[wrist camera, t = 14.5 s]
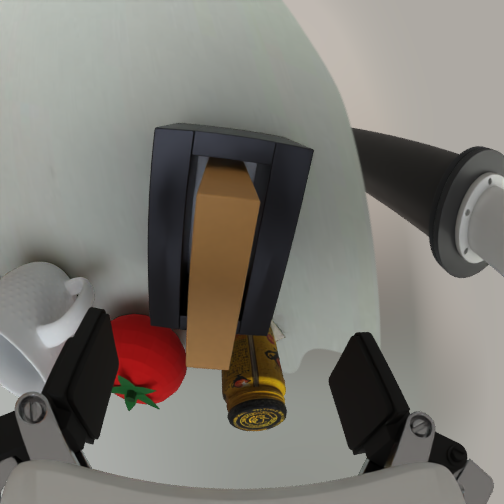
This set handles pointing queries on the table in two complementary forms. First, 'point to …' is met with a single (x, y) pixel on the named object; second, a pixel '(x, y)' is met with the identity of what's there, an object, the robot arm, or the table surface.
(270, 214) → the toaster
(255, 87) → the table surface
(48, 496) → the robot arm
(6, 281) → the mug
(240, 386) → the condiment
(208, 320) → the toast
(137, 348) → the tomato
